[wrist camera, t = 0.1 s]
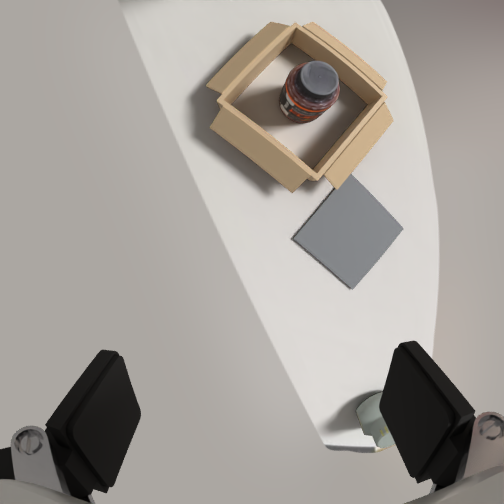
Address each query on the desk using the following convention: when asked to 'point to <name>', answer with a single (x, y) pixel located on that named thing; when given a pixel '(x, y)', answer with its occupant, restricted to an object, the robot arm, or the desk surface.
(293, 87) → the supplement bottle
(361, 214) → the mat
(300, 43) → the carton
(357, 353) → the desk surface
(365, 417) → the air freshener
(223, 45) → the desk surface
